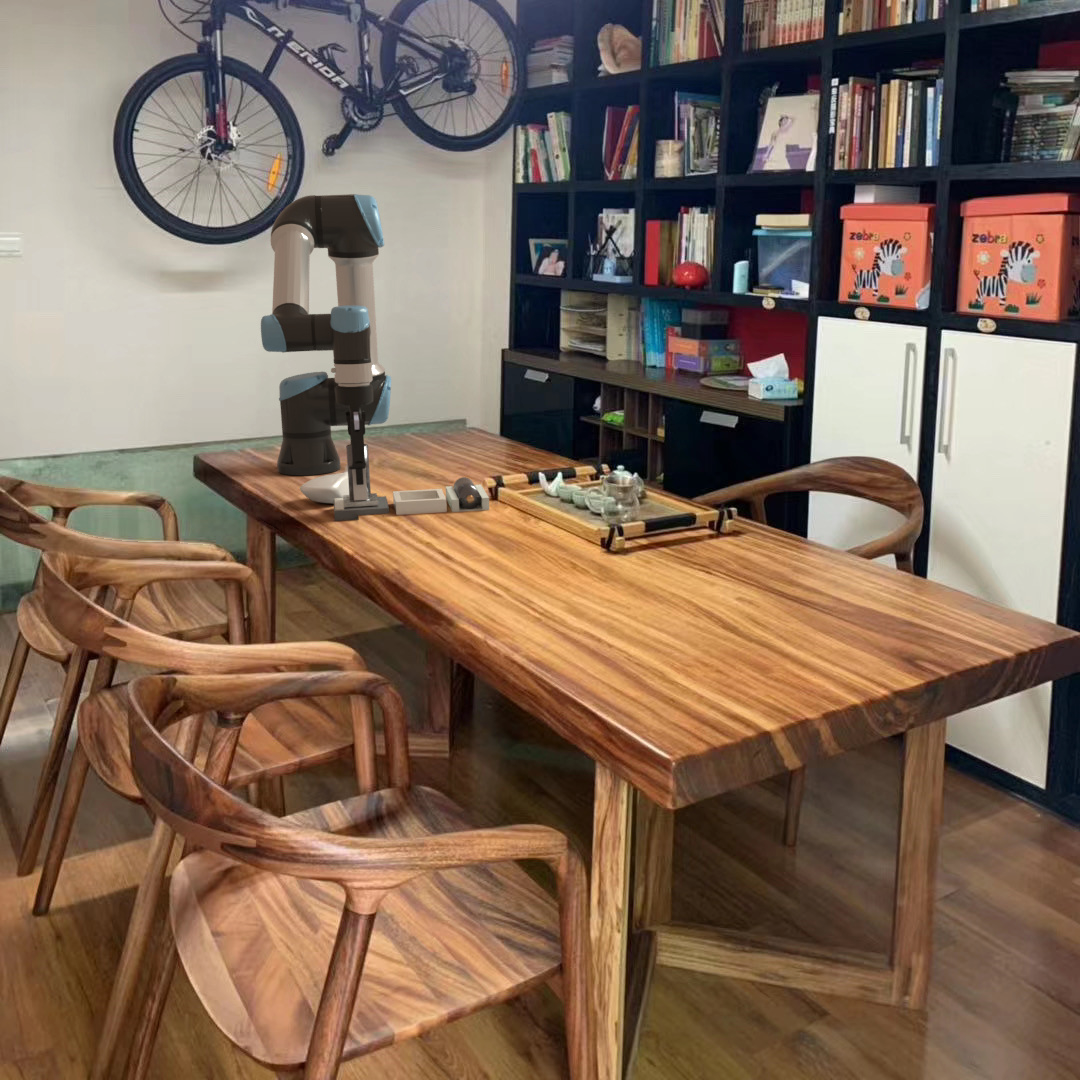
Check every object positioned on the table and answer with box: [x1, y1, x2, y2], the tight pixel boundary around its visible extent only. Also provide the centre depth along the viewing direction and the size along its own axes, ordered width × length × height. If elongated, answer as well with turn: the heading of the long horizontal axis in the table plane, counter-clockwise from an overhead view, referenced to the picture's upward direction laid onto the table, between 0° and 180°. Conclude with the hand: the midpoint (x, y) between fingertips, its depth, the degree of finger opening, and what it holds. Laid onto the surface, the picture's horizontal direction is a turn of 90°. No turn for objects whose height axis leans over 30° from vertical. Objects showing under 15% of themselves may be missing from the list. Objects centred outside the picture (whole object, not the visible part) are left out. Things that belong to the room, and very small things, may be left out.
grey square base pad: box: [333, 495, 390, 522], centre depth 249 cm, size 11×11×2 cm
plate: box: [343, 492, 379, 507], centre depth 248 cm, size 7×7×1 cm
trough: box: [445, 484, 490, 513], centre depth 251 cm, size 13×8×3 cm, turn 10°
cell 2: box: [453, 477, 481, 509], centre depth 251 cm, size 12×4×4 cm, turn 10°
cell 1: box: [345, 443, 372, 501], centre depth 247 cm, size 4×4×12 cm
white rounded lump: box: [299, 464, 349, 505], centre depth 260 cm, size 10×11×12 cm
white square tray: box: [392, 488, 448, 516], centre depth 249 cm, size 10×10×4 cm
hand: (360, 496), depth 248 cm, fingers closed on cell 1, 4 cm apart
